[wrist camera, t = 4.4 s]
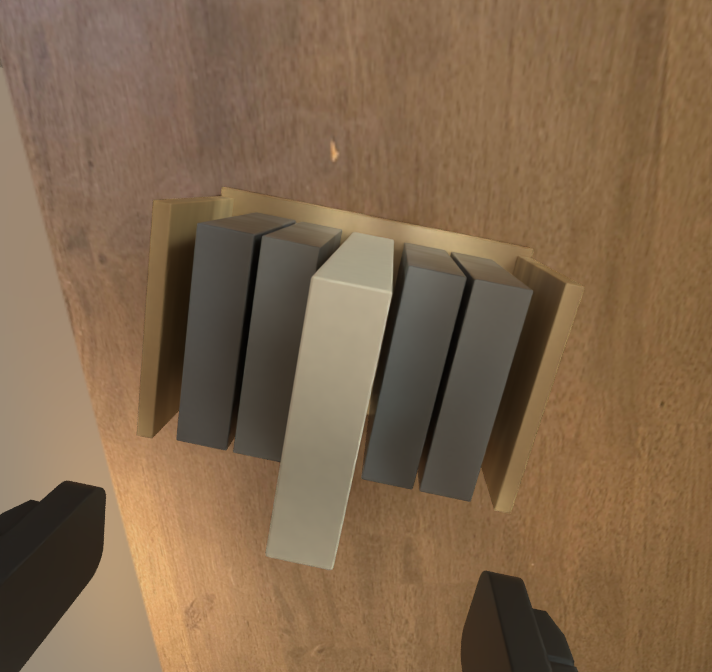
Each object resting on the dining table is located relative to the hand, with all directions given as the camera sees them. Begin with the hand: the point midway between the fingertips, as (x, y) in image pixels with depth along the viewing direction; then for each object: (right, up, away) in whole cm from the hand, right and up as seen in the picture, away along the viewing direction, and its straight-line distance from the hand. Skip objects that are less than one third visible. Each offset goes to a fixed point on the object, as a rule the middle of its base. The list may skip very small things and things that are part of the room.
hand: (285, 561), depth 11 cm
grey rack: (+2, +6, +21) cm, 22 cm away
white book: (+2, +6, +20) cm, 21 cm away
